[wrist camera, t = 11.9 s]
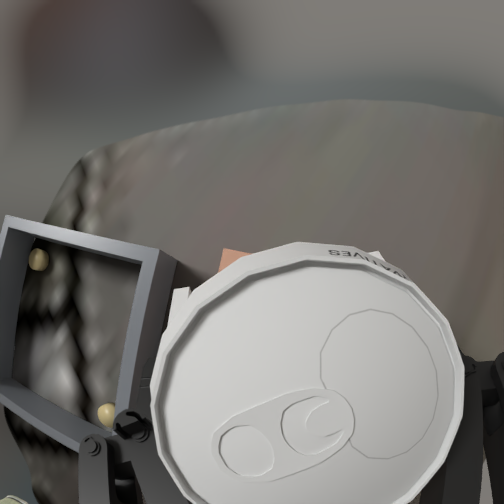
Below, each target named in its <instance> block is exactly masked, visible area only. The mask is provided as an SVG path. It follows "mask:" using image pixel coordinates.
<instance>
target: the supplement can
mask: <svg viewBox="0 0 504 504" xmlns="http://www.w3.org/2000/svg"><path fill="white" fill-rule="evenodd" d="M150 392H151V404H150V407H151V414H152V421H153V427H154V433H155V439H156V445H157V451H158V455H159V457H160V458H161V460H162V462H163V464H164V465H165V467H166V469H167V470H168V472H169V474H170V475H171V477H172V478H173V480H174V482H175V483H176V485H177V486H178V488H179V489H180V491H181V493H182V494H183V496H184V497H186V498H187V499H188V500H189V501H190V502H192V503H193V504H407V503H409V502H410V501H412V500H413V499H414V498H415V497H416V495H417V494H418V493H419V492H420V491H421V490H422V489H423V487H424V486H425V485H426V484H427V483H428V482H429V480H430V479H431V478H432V477H433V475H434V474H435V473H436V472H437V470H438V469H439V468H440V467H441V465H442V464H443V463H444V461H445V459H446V457H447V455H448V452H449V450H450V448H451V445H452V443H453V440H454V438H455V435H456V433H457V430H458V427H459V425H460V422H461V419H462V416H463V403H464V364H463V361H462V358H461V355H460V352H459V349H458V346H457V344H456V341H455V338H454V335H453V333H452V330H451V327H450V325H449V322H448V320H447V319H446V318H445V317H444V316H443V315H442V313H441V312H440V311H439V310H438V309H437V308H436V307H435V305H434V304H433V303H432V302H431V301H430V300H429V299H428V298H427V297H426V295H425V294H424V293H423V292H422V291H421V290H420V289H419V288H418V287H417V286H416V285H415V284H414V282H413V281H412V280H411V279H410V278H409V277H408V276H407V275H406V274H405V273H404V272H403V271H402V270H401V269H399V268H397V267H395V266H393V265H391V264H389V263H387V262H385V261H383V260H381V259H379V258H377V257H374V256H372V255H370V254H368V253H366V252H364V251H362V250H360V249H357V248H355V247H353V246H342V245H330V244H318V243H305V242H295V243H291V244H287V245H284V246H280V247H276V248H273V249H269V250H265V251H261V252H258V253H254V254H250V255H247V256H243V257H241V258H239V259H238V260H236V261H235V262H233V263H232V264H230V265H229V266H228V267H226V268H225V269H223V270H222V271H220V272H219V273H217V274H216V275H215V276H213V277H212V278H210V279H209V280H207V281H206V282H204V283H203V284H202V285H200V286H199V287H197V288H196V289H194V290H193V292H192V293H191V295H190V296H189V297H188V299H187V300H186V302H185V303H184V305H183V306H182V307H181V309H180V310H179V312H178V313H177V314H176V316H175V317H174V319H173V320H172V322H171V323H170V324H169V326H168V327H167V329H166V330H165V332H164V333H163V334H162V338H161V342H160V346H159V349H158V353H157V357H156V361H155V365H154V370H153V374H152V378H151V382H150Z"/></svg>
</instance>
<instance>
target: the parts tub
mask: <svg viewBox="0 0 504 504" xmlns="http://www.w3.org/2000/svg"><path fill="white" fill-rule="evenodd" d="M34 237H35V238H39V239H43V240H46V241H50V242H54V243H57V244H61V245H65V246H69V247H72V248H76V249H80V250H84V251H88V252H92V253H95V254H99V255H103V256H107V257H111V258H115V259H119V260H123V261H127V262H132V263H136V264H140V265H142V266H141V270H140V274H139V278H138V283H137V287H136V291H135V296H134V300H133V305H132V310H131V315H130V320H129V325H128V330H127V335H126V340H125V346H124V351H123V357H122V363H121V369H120V376H119V382H118V389H117V397H116V404H115V403H107V404H105V405H103V406H101V407H100V408H99V409H98V417H99V420H100V421H101V422H102V424H104V425H105V426H107V427H110V428H112V427H113V422H114V419H115V417H116V416H117V415H118V414H119V413H120V412H122V411H123V410H125V409H130V408H133V409H136V403H137V397H138V391H139V388H140V386H139V385H140V380H141V374H142V369H143V366H144V364H145V363H146V361H147V360H148V358H149V357H156V356H157V352H158V346H159V341H160V336H161V331H162V326H163V322H164V317H165V312H166V308H167V303H168V299H169V294H170V290H171V285H172V281H173V277H174V273H175V268H176V264H177V260H176V259H175V258H173V257H171V256H170V255H168V254H166V253H165V252H163V251H161V250H160V249H155V248H150V247H146V246H141V245H136V244H132V243H127V242H123V241H118V240H113V239H109V238H104V237H100V236H95V235H91V234H86V233H82V232H77V231H73V230H69V229H64V228H60V227H55V226H51V225H47V224H42V223H38V222H34V221H29V220H25V219H21V218H17V217H12V216H8V215H6V217H5V220H4V223H3V227H2V230H1V234H0V402H1V403H2V404H3V405H4V406H6V407H7V408H8V409H10V410H11V411H13V412H14V413H15V414H17V415H18V416H20V417H21V418H22V419H24V420H25V421H27V422H28V423H30V424H31V425H33V426H34V427H36V428H37V429H39V430H40V431H42V432H44V433H45V434H47V435H48V436H50V437H52V438H53V439H55V440H57V441H58V442H60V443H62V444H64V445H65V446H67V447H69V448H71V449H73V450H74V451H76V452H78V453H79V446H80V443H81V441H82V440H83V438H85V437H86V436H87V435H90V434H99V435H101V436H103V437H104V438H106V437H110V436H113V435H117V433H116V432H114V431H112V433H111V432H108V431H106V430H104V429H102V428H100V427H97V426H95V425H93V424H91V423H89V422H87V421H85V420H83V419H81V418H79V417H77V416H75V415H73V414H71V413H69V412H67V411H66V410H64V409H62V408H60V407H58V406H56V405H55V404H53V403H51V402H49V401H48V400H46V399H44V398H43V397H41V396H39V395H38V394H36V393H34V392H33V391H31V390H29V389H28V388H26V387H25V386H23V385H22V384H20V383H19V382H17V381H16V380H14V379H13V378H12V367H13V353H14V343H15V334H16V326H17V318H18V312H19V305H20V300H21V294H22V289H23V283H24V279H25V274H26V269H27V265H28V261H29V265H30V267H31V268H32V269H34V270H38V271H43V270H45V269H46V268H47V266H48V263H49V256H48V253H47V252H46V251H44V250H41V249H38V248H36V249H34V250H32V252H31V248H32V245H33V241H34ZM30 252H31V253H30Z"/></svg>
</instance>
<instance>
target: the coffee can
mask: <svg viewBox="0 0 504 504" xmlns="http://www.w3.org/2000/svg"><path fill="white" fill-rule="evenodd" d="M0 504H28V503H27V502H25V501H24V500H22V499H20V498H18V497H16V496H12V495H10V496H7V497H5V498H4V499H2V500H0Z"/></svg>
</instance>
